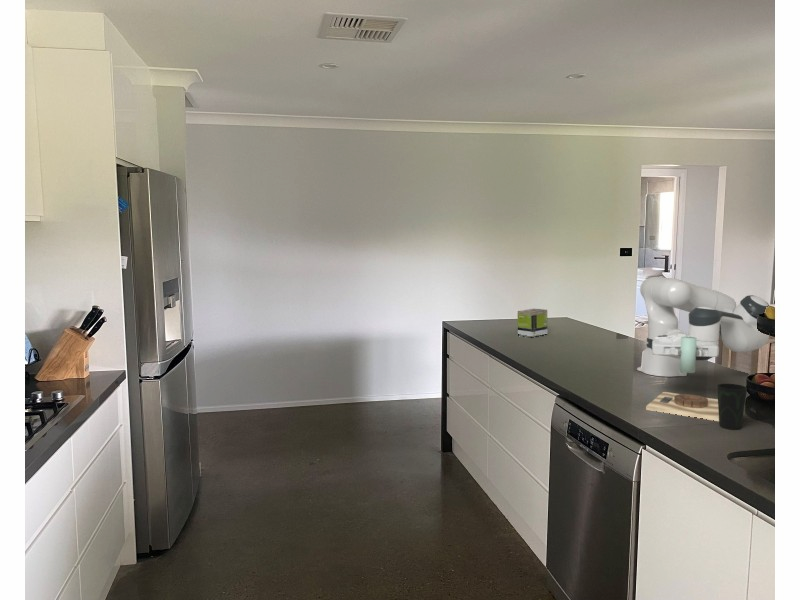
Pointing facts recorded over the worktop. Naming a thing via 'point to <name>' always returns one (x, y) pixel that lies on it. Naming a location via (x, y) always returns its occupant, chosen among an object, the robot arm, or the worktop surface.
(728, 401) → the cup
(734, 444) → the worktop surface
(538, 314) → the tea box
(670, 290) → the robot arm
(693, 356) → the peg
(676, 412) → the socket board
